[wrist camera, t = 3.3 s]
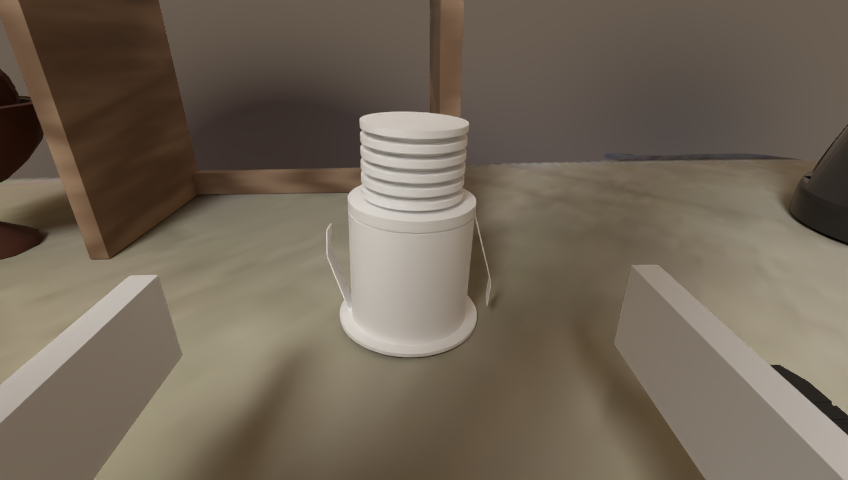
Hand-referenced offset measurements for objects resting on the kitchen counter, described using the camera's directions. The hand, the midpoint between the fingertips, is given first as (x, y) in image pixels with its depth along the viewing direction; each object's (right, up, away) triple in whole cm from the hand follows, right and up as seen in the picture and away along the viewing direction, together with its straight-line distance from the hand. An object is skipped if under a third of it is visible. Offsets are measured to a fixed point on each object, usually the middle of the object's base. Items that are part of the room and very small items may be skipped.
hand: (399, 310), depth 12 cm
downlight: (0, -2, +10) cm, 10 cm away
